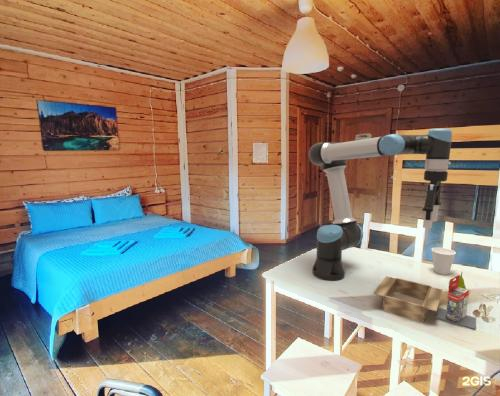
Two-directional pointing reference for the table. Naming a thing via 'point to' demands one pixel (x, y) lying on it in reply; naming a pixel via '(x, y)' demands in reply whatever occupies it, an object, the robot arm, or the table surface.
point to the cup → (442, 260)
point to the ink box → (456, 301)
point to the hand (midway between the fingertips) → (430, 224)
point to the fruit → (461, 283)
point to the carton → (412, 289)
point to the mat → (465, 322)
